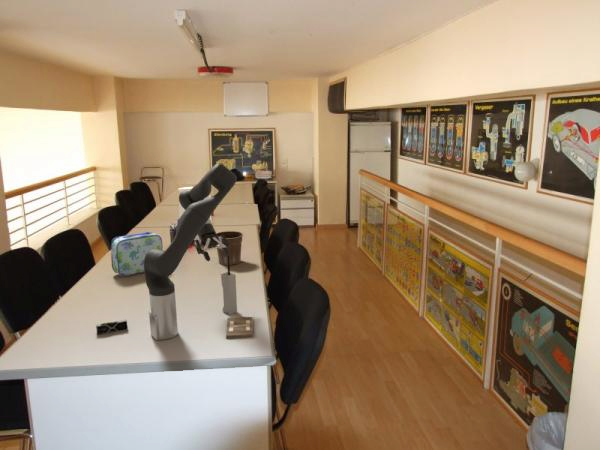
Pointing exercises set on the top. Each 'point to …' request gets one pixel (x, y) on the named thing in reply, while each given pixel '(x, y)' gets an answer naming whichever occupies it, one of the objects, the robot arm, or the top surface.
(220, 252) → the plant pot
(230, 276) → the vintage mobile phone
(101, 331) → the graphics card
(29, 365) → the top surface
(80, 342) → the top surface
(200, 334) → the top surface
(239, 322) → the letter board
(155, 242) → the lunch box
